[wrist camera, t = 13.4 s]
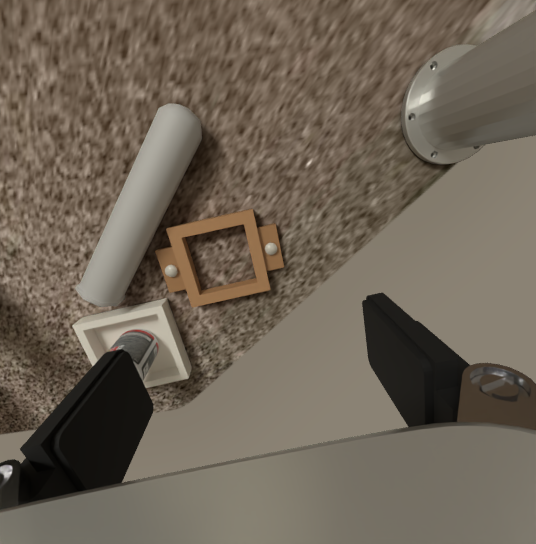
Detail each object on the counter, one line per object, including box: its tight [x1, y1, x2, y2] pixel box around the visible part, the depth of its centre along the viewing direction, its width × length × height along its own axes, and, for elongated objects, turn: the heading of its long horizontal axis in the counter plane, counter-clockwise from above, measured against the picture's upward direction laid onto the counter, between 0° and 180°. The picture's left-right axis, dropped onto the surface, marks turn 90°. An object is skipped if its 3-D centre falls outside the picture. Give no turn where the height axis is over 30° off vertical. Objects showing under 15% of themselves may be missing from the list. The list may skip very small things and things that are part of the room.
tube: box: [75, 104, 202, 307], centre depth 31 cm, size 5×5×25 cm
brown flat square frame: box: [155, 209, 284, 307], centre depth 35 cm, size 16×11×2 cm
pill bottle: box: [108, 329, 159, 381], centre depth 34 cm, size 6×6×10 cm
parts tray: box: [72, 298, 192, 388], centre depth 38 cm, size 12×12×2 cm
